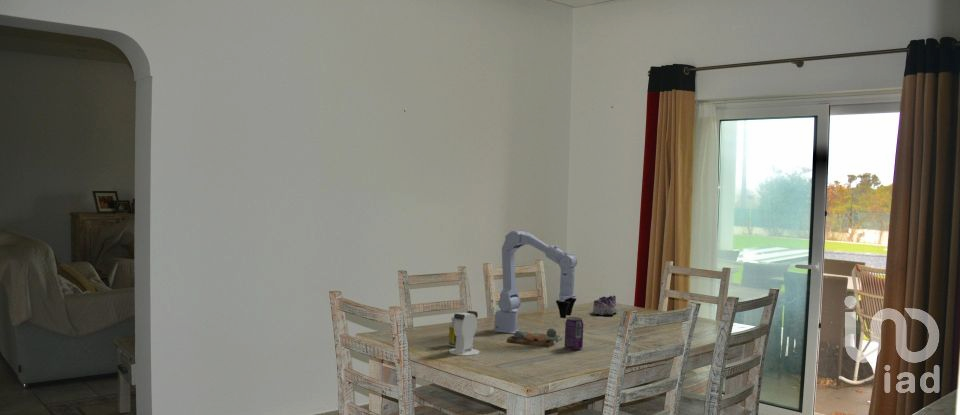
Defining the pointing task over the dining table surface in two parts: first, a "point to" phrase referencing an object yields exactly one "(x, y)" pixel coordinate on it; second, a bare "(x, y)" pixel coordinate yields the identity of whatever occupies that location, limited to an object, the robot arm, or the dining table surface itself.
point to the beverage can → (574, 333)
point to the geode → (605, 306)
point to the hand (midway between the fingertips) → (565, 316)
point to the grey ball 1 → (518, 335)
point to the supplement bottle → (452, 334)
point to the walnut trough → (530, 342)
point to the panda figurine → (465, 333)
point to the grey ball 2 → (551, 333)
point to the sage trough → (556, 338)
